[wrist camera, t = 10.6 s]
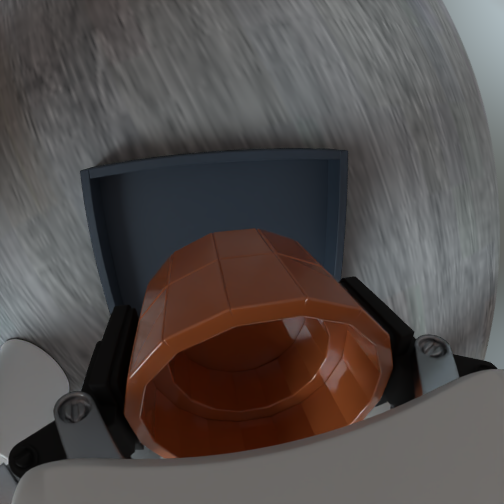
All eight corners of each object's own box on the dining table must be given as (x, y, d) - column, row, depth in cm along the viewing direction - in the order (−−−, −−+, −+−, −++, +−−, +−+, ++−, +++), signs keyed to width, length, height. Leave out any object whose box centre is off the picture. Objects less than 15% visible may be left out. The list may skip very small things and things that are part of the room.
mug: (27, 408, 22) (2, 485, 11) (-21, 357, 19) (-62, 431, 8) (85, 391, 22) (62, 493, 11) (28, 327, 19) (-28, 427, 8)
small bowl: (331, 216, 10) (421, 275, 6) (317, 364, 13) (360, 443, 9) (126, 236, 9) (78, 321, 5) (165, 387, 12) (166, 480, 7)
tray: (331, 148, 19) (348, 150, 17) (324, 302, 23) (336, 317, 21) (92, 167, 16) (79, 170, 14) (125, 326, 21) (120, 344, 18)
